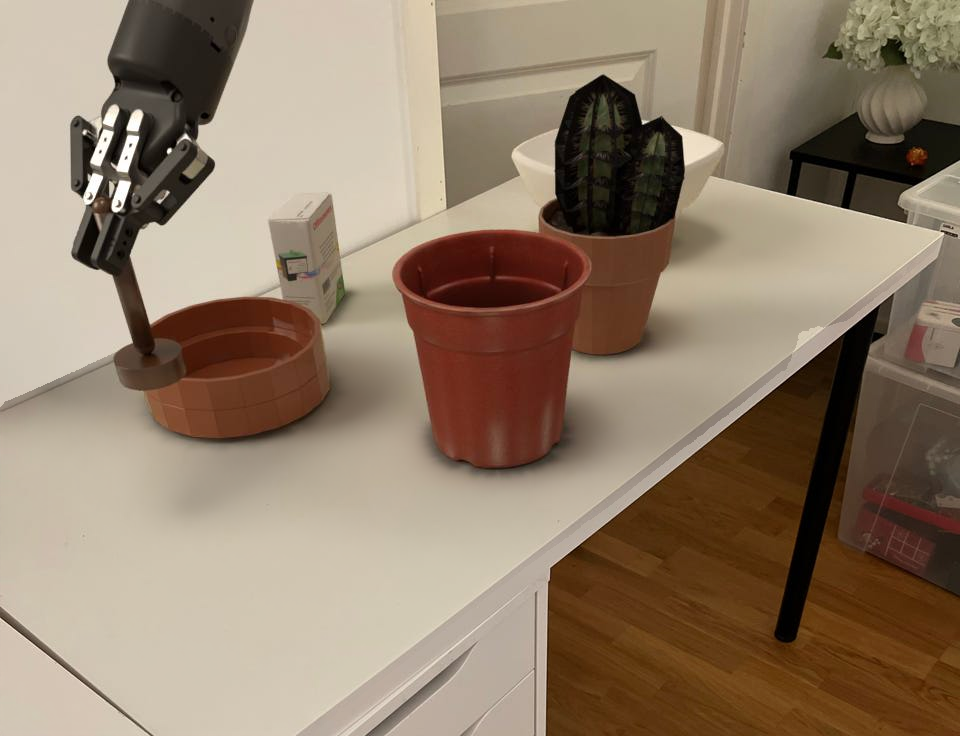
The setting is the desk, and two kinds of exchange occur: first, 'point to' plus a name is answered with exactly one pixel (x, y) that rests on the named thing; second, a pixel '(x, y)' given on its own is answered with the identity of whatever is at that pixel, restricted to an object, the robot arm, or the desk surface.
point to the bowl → (698, 148)
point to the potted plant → (614, 209)
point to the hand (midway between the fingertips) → (95, 266)
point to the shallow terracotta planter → (241, 367)
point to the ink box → (308, 252)
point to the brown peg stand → (140, 332)
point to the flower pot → (494, 339)
